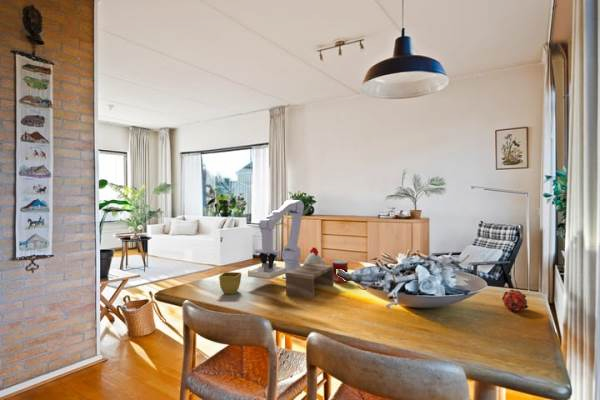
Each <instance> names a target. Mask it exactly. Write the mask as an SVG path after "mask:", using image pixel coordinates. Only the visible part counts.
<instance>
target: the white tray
mask: <svg viewBox="0 0 600 400" xmlns="http://www.w3.org/2000/svg"><path fill="white" fill-rule="evenodd" d="M285 274H286V267H285V266H277V263H276V262H274V263H273V267H272V268H271V269H269V262H268V261H267V263H263V264H262V263H261V266H258V267H256V268H251V269H250V270H247V277H250V278H257V279H263V280H271V279H274V278H277V277H281V276H283V275H285Z"/></svg>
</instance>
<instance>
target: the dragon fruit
mask: <svg viewBox="0 0 600 400" xmlns="http://www.w3.org/2000/svg"><path fill="white" fill-rule="evenodd" d="M526 298H527V295H526V294H524V293H523V292H521V291H520V290H514V289H510V290H509V291H505V292H504V293H503V296H502V298H501V300H502V303H503V305H504V307H506V308H507V310H508V311H510V312H516V311H517V312H521V311H523V310H525V309H529V305H528V300H527V299H526Z"/></svg>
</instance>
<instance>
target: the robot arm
mask: <svg viewBox="0 0 600 400" xmlns="http://www.w3.org/2000/svg"><path fill="white" fill-rule="evenodd" d="M304 209H305V204H304V203H303V201H302V199H299V200H298V199H296V200H295V199H287V200H285V201H284V202H283V205H282V206H281V207H279V209H278V210H273V211H272V212H271V213H270V214H269V215H267V216H266V217H265V218H262V219H261V220H260V221H259V223H258V227H259V229H260V230H259V231H260V233H261V249H260V248H256V249H255V250H254V254H258V258H259V259H260V261H261V265H262V264H263V263H267V262H269V269H271V268H272V267H273V263H275V259H276V257H277V256H281V259H282V260H283V262H284V267H286V272H289V271H291V270H294V269H296V268H298V267H301V266H302V265H301V262H300V260H301V257H302V253H301V248H300V247H299V246H298V243H299V237H300V230H301V226H302V225H301V224H302V218H303V215H304V214H303V213H304ZM287 213H288V214H289V215H290V216H291V217H292V218H291V219H292V220H291V223H290V231H289V237H288V242H287V244H286V245H284V247H283V250H282V252H281V250H275V249H274V236H273V234H274V233H273V232H274V230H275V228H276V225H277V223H278V222H280V221H281V220H282V218H283V217H282V216H284V215H285V214H287ZM281 278H282V279H286V274H284V276H282V277H281Z"/></svg>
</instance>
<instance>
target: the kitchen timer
mask: <svg viewBox="0 0 600 400" xmlns="http://www.w3.org/2000/svg"><path fill="white" fill-rule="evenodd" d="M309 251H310V252H309V253H310V254H308V256H307V257H305V260H304V261H303V265H306V264H308V263H314V264H324V265H326V261H325V259H324V258H322V256H321V255H320V254H319V250H318V248H316V247H312V248H311V250H309ZM303 265H302V266H303Z"/></svg>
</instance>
